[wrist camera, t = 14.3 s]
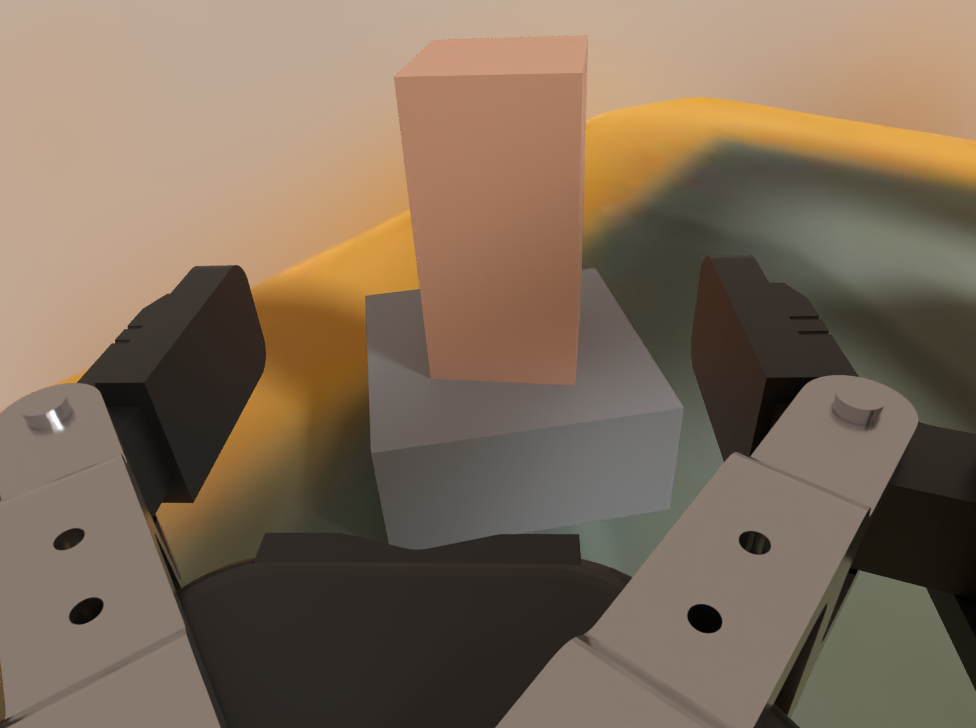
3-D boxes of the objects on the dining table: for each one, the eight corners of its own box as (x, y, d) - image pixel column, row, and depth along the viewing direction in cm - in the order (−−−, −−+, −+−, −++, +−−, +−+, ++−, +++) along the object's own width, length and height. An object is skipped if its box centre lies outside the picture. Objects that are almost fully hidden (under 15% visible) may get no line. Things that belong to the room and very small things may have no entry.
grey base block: (591, 361, 33) (595, 267, 31) (669, 516, 25) (684, 407, 22) (381, 390, 32) (365, 295, 30) (391, 560, 24) (370, 452, 21)
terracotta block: (580, 309, 28) (587, 35, 22) (575, 385, 24) (582, 72, 18) (456, 306, 28) (432, 39, 23) (430, 378, 24) (394, 76, 19)
